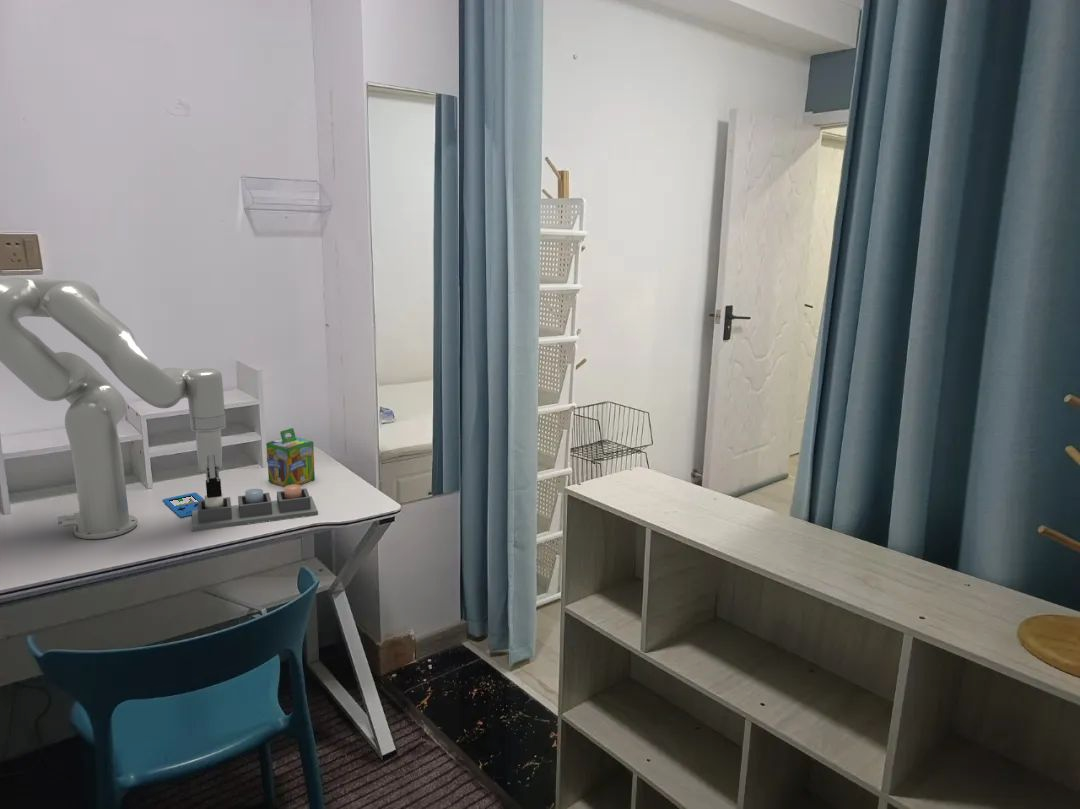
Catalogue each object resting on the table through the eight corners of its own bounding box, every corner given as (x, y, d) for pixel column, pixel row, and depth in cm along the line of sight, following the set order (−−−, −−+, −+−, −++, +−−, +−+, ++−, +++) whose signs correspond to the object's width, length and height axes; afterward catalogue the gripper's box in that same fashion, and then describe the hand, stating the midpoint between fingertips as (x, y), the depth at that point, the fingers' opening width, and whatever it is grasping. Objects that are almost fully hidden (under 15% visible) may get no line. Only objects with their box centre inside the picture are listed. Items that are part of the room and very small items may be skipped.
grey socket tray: (192, 531, 166) (191, 515, 165) (192, 514, 176) (191, 498, 175) (317, 514, 178) (317, 499, 177) (311, 499, 188) (310, 485, 187)
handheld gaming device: (180, 515, 173) (161, 498, 184) (180, 520, 173) (161, 502, 184) (216, 507, 179) (195, 491, 189) (216, 512, 179) (196, 495, 189)
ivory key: (205, 512, 170) (204, 500, 169) (205, 506, 174) (204, 494, 173) (224, 510, 172) (223, 497, 171) (223, 504, 175) (222, 492, 174)
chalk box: (290, 489, 195) (287, 436, 191) (267, 482, 199) (264, 431, 196) (316, 479, 203) (314, 429, 199) (293, 473, 207) (291, 424, 204)
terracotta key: (285, 502, 177) (285, 490, 177) (284, 497, 181) (283, 485, 180) (302, 500, 179) (302, 488, 178) (300, 495, 183) (300, 483, 182)
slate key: (246, 507, 174) (245, 495, 173) (245, 502, 177) (244, 489, 176) (264, 505, 175) (263, 493, 175) (263, 500, 179) (262, 487, 178)
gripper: (190, 415, 173) (197, 488, 177) (189, 431, 159) (197, 509, 164) (224, 413, 176) (230, 484, 180) (226, 428, 163) (232, 504, 167)
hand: (214, 496), depth 172 cm, fingers closed
